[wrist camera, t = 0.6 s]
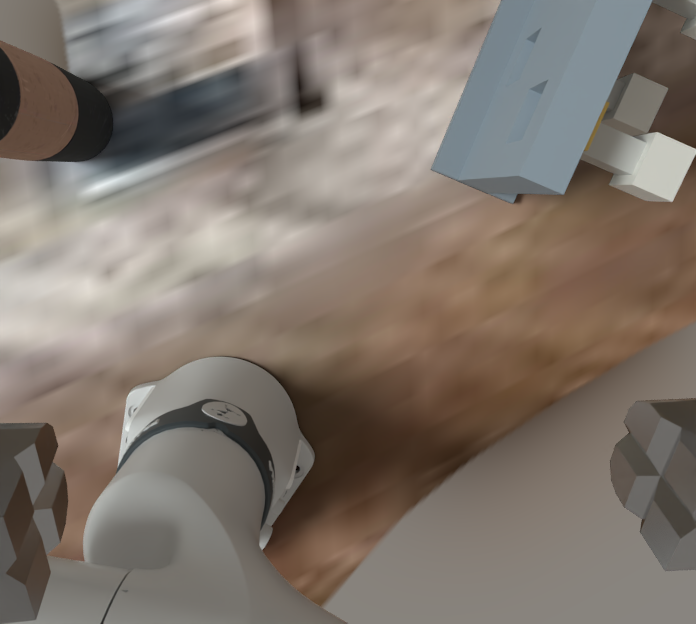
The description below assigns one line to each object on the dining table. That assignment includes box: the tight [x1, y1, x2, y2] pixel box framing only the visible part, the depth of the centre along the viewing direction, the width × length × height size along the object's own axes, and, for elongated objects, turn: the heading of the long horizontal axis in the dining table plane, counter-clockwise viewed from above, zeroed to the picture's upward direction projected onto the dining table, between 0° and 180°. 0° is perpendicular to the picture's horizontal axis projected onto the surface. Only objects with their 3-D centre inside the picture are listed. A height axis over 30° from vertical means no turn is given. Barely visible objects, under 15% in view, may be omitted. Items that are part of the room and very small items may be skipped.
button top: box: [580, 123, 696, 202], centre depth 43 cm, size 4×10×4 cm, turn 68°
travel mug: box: [0, 41, 113, 162], centre depth 46 cm, size 8×8×20 cm
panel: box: [431, 0, 652, 203], centre depth 47 cm, size 20×8×20 cm, turn 158°
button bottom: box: [601, 73, 669, 136], centre depth 51 cm, size 4×10×4 cm, turn 68°
